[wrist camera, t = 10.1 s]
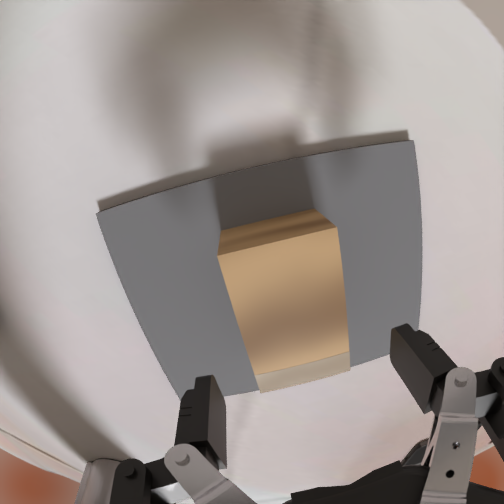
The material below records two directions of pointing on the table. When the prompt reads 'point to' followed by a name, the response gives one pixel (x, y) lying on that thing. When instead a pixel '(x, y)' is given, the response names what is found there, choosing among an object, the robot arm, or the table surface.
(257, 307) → the block
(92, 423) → the table surface
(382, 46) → the table surface
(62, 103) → the table surface
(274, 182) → the mat
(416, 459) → the phone
